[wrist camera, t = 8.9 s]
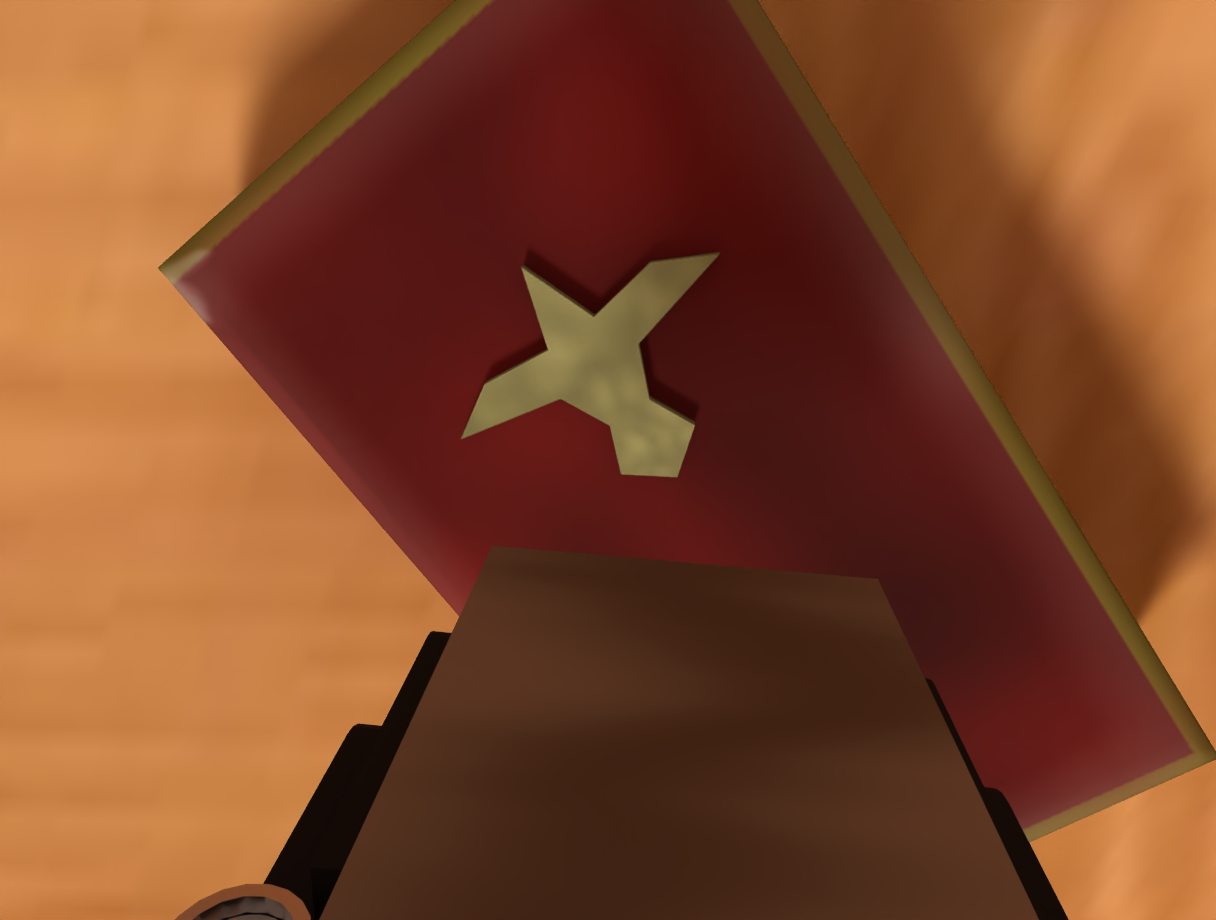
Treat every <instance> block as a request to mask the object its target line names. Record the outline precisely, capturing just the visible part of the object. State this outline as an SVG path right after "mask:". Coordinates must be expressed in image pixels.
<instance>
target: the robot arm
mask: <svg viewBox="0 0 1216 920" xmlns="http://www.w3.org/2000/svg"><path fill="white" fill-rule="evenodd" d="M451 634H452V633H446V632H435V631H432V632H430V634H429V635H428V637H427V638H426V640H425V642H424V644H423V646H422V648H421V650H420V652H419V654H418V656H417V658H416V660H415V662H414V664H413V666H412V668H411V670H410V672H409V674H408V676H407V678H406V680H405V682H404V684H403V686H402V688H401V690H400V692H399V693H398V695H397V697H396V699H395V701H394V703H393V705H392V707H391V709H390V711H389V713H388V715H387V717H386V719H385V721H384V723H383V725H382V726H377V725H367V724H357V725H355V726H353V727H352V729H351V730H350V731H349V733H348V734H347V736H346V737H345V739H344V741H343V743H342V745H341V746H340V748H339V750H338V752H337V754H336V755H335V757H334V759H333V761H332V762H331V764H330V766H329V768H328V770H327V771H326V773H325V775H324V777H323V778H322V780H321V782H320V784H319V786H318V787H317V789H316V791H315V793H314V794H313V796H312V798H311V800H310V802H309V803H308V805H307V807H306V809H305V811H304V812H303V814H302V816H301V818H300V819H299V821H298V823H297V825H296V827H295V828H294V830H293V832H292V834H291V835H290V837H289V839H288V841H287V843H286V844H285V846H284V848H283V850H282V851H281V853H280V855H279V857H278V859H277V860H276V862H275V864H274V866H273V867H272V869H271V871H270V873H269V875H268V876H267V878H266V880H265V882H264V884H245V885H240V886H236V887H232V888H227V889H223V890H221V891H219V892H217V893H214V894H212V895H210V896H208V897H206V898H204V899H201V900H199V901H198V902H197V903H195V904H194V905H192V906H191V907H190V908H188V909H187V910H186V911H184V912H183V913H182V914H180V915H179V916H178V917H177V918H176V919H175V920H319V919H320V917H321V915H322V913H323V911H324V908H325V906H326V904H327V902H328V900H329V898H330V895H331V893H332V891H333V889H334V887H335V885H336V882H337V880H338V878H339V876H340V874H341V872H342V869H343V867H344V865H345V863H346V861H347V859H348V856H349V854H350V852H351V850H352V848H353V846H354V844H355V841H356V839H357V837H358V835H359V833H360V831H361V828H362V826H363V824H364V822H365V820H366V818H367V815H368V813H369V811H370V809H371V807H372V805H373V802H374V800H375V798H376V796H377V794H378V792H379V789H380V787H381V785H382V783H383V781H384V779H385V776H386V774H387V772H388V770H389V768H390V766H391V763H392V761H393V759H394V757H395V755H396V753H397V750H398V748H399V746H400V744H401V742H402V740H403V738H404V735H405V733H406V731H407V729H408V727H409V725H410V722H411V720H412V718H413V716H414V714H415V712H416V709H417V707H418V705H419V703H420V701H421V699H422V696H423V694H424V692H425V690H426V688H427V686H428V683H429V681H430V679H431V677H432V675H433V673H434V670H435V668H436V666H437V664H438V662H439V660H440V657H441V655H442V653H443V651H444V649H445V647H446V645H447V642H448V640H449V638H450V636H451ZM925 680H926V682H927V684H928V686H929V688H930V690H931V693H932V695H933V697H934V699H935V701H936V703H937V705H938V707H939V709H940V712H941V714H942V716H943V718H944V720H945V722H946V724H947V726H948V729H949V731H950V733H951V735H952V737H953V739H954V741H955V743H956V745H957V748H958V750H959V752H960V754H961V756H962V758H963V760H964V762H965V764H966V767H967V769H968V771H969V773H970V775H971V777H972V779H973V781H974V784H975V786H976V788H977V790H978V792H979V794H980V796H981V798H982V800H983V803H984V805H985V807H986V809H987V811H988V813H989V815H990V817H991V819H992V822H993V824H994V826H995V828H996V830H997V832H998V834H999V836H1000V839H1001V841H1002V843H1003V845H1004V847H1005V849H1006V851H1007V853H1008V855H1009V858H1010V860H1011V862H1012V864H1013V866H1014V868H1015V870H1016V872H1017V874H1018V877H1019V879H1020V881H1021V883H1022V885H1023V887H1024V889H1025V891H1026V894H1027V896H1028V898H1029V900H1030V902H1031V904H1032V906H1033V908H1034V910H1035V913H1036V915H1037V917H1038V919H1039V920H1068V918H1067V916H1066V914H1065V912H1064V910H1063V908H1062V906H1061V904H1060V902H1059V900H1058V898H1057V896H1056V894H1055V892H1054V890H1053V888H1052V886H1051V884H1050V882H1049V880H1048V878H1047V876H1046V875H1045V873H1044V871H1043V869H1042V867H1041V865H1040V863H1039V861H1038V859H1037V857H1036V855H1035V853H1034V851H1033V849H1032V847H1031V845H1030V843H1029V841H1028V839H1027V837H1026V835H1025V833H1024V831H1023V829H1022V828H1021V826H1020V824H1019V822H1018V820H1017V818H1016V816H1015V814H1014V812H1013V810H1012V808H1011V806H1010V804H1009V802H1008V801H1007V799H1006V798H1005V796H1004V795H1003V793H1002V792H1000V791H999V790H997V789H996V788H989V787H984V785H983V783H982V781H981V779H980V777H979V775H978V773H977V771H976V769H975V767H974V765H973V763H972V761H971V759H970V757H969V754H968V752H967V750H966V748H965V746H964V744H963V742H962V740H961V738H960V736H959V734H958V732H957V730H956V728H955V726H954V724H953V721H952V719H951V717H950V715H949V713H948V711H947V709H946V707H945V705H944V703H943V701H942V699H941V697H940V695H939V693H938V690H937V688H936V686H935V684H934V683H933V681H932V680H931V679H928V678H925Z"/></svg>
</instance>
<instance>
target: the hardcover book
mask: <svg viewBox="0 0 1216 920" xmlns="http://www.w3.org/2000/svg"><path fill="white" fill-rule="evenodd" d="M158 268H159V270H160V271H161V272H162V273H163V274H164V275H165V277H166V278H167V279H168V280H169V281H170V282H171V284H172V285H173V286H174V287H175V288H176V289H177V290H178V292H179V293H180V294H181V295H182V296H183V297H184V299H185V300H186V301H187V302H188V303H189V304H190V306H191V307H192V308H193V309H194V310H195V311H196V312H197V314H198V315H199V316H200V317H201V318H202V319H203V321H204V322H205V323H206V324H207V325H208V326H209V327H210V329H211V330H212V331H213V332H214V333H215V334H216V336H217V337H218V338H219V339H220V340H221V341H222V343H223V344H224V345H225V346H226V347H227V348H228V349H229V351H230V352H231V353H232V354H233V355H234V356H235V358H236V359H237V360H238V361H239V362H240V363H241V364H242V366H243V367H244V368H245V369H246V370H247V371H248V373H249V374H250V375H251V376H252V377H253V378H254V380H255V381H256V382H257V383H258V384H259V385H260V386H261V388H262V389H263V390H264V391H265V392H266V393H267V395H268V396H269V397H270V398H271V399H272V400H273V401H274V403H275V404H276V405H277V406H278V407H279V408H280V410H281V411H282V412H283V413H284V414H285V415H286V417H287V418H288V419H289V420H290V421H291V422H292V423H293V425H294V426H295V427H296V428H297V429H298V430H299V432H300V433H301V434H302V435H303V436H304V437H305V438H306V440H307V441H308V442H309V443H310V444H311V445H312V447H313V448H314V449H315V450H316V451H317V452H318V454H319V455H320V456H321V457H322V458H323V459H324V460H325V462H326V463H327V464H328V465H329V466H330V467H331V469H332V470H333V471H334V472H335V473H336V474H337V475H338V477H339V478H340V479H341V480H342V481H343V482H344V484H345V485H346V486H347V487H348V488H349V489H350V491H351V492H352V493H353V494H354V495H355V496H356V497H357V499H358V500H359V501H360V502H361V503H362V504H363V506H364V507H365V508H366V509H367V510H368V511H369V513H370V514H371V515H372V516H373V517H374V518H375V519H376V521H377V522H378V523H379V524H380V525H381V526H382V528H383V529H384V530H385V531H386V532H387V533H388V534H389V536H390V537H391V538H392V539H393V540H394V541H395V543H396V544H397V545H398V546H399V547H400V548H401V550H402V551H403V552H404V553H405V554H406V555H407V556H408V558H409V559H410V560H411V561H412V562H413V563H414V565H415V566H416V567H417V568H418V569H419V570H420V571H421V573H422V574H423V575H424V576H425V577H426V578H427V580H428V581H429V582H430V583H431V584H432V585H433V587H434V588H435V589H436V590H437V591H438V592H439V593H440V595H441V596H442V597H443V598H444V599H445V600H446V602H447V603H448V604H449V605H450V606H451V607H452V608H453V610H454V611H455V612H456V613H457V614H458V615H459V616H460V614H461V612H462V610H463V608H464V606H465V603H466V601H467V599H468V597H469V595H470V593H471V590H472V588H473V586H474V584H475V582H476V580H477V577H478V575H479V573H480V571H481V569H482V567H483V564H484V562H485V560H486V558H487V556H488V554H489V551H490V549H491V547H492V545H493V546H504V547H516V548H527V549H539V550H550V551H562V552H573V553H585V554H596V555H607V556H619V557H630V558H642V559H653V560H665V561H676V562H688V563H699V564H711V565H722V566H734V567H745V568H757V569H768V570H780V571H791V572H803V573H814V574H826V575H837V576H849V577H860V578H872V579H878V580H879V583H880V585H881V587H882V589H883V591H884V593H885V595H886V597H887V599H888V602H889V604H890V606H891V608H892V610H893V612H894V614H895V616H896V618H897V621H898V623H899V625H900V627H901V629H902V631H903V633H904V635H905V638H906V640H907V642H908V644H909V646H910V648H911V650H912V652H913V654H914V657H915V659H916V661H917V663H918V665H919V667H920V669H921V671H922V673H923V676H924V678H928V679H931V680H932V681H933V683H934V684H935V686H936V688H937V690H938V693H939V695H940V697H941V699H942V701H943V703H944V705H945V707H946V709H947V711H948V713H949V715H950V717H951V719H952V721H953V724H954V726H955V728H956V730H957V732H958V734H959V736H960V738H961V740H962V742H963V744H964V746H965V748H966V750H967V752H968V754H969V757H970V759H971V761H972V763H973V765H974V767H975V769H976V771H977V773H978V775H979V777H980V779H981V781H982V783H983V785H984V787H989V788H996V789H997V790H999V791H1000V792H1002V793H1003V795H1004V796H1005V798H1006V799H1007V801H1008V802H1009V804H1010V806H1011V808H1012V810H1013V812H1014V814H1015V816H1016V818H1017V820H1018V822H1019V824H1020V826H1021V828H1022V829H1023V831H1024V833H1025V835H1026V837H1027V839H1028V841H1029V842H1031V841H1033V840H1036V839H1038V838H1040V837H1042V836H1045V835H1047V834H1049V833H1051V832H1054V831H1056V830H1058V829H1060V828H1063V827H1065V826H1067V825H1069V824H1072V823H1074V822H1076V821H1078V820H1081V819H1083V818H1085V817H1087V816H1090V815H1092V814H1094V813H1096V812H1099V811H1101V810H1103V809H1105V808H1108V807H1110V806H1112V805H1114V804H1117V803H1119V802H1121V801H1123V800H1126V799H1128V798H1130V797H1132V796H1135V795H1137V794H1139V793H1141V792H1144V791H1146V790H1148V789H1150V788H1153V787H1155V786H1157V785H1159V784H1162V783H1164V782H1166V781H1168V780H1171V779H1173V778H1175V777H1177V776H1180V775H1182V774H1184V773H1186V772H1189V771H1191V770H1193V769H1195V768H1198V767H1200V766H1202V765H1204V764H1207V763H1209V762H1211V761H1213V760H1216V751H1215V749H1214V748H1213V746H1212V744H1211V743H1210V741H1209V740H1208V738H1207V736H1206V735H1205V733H1204V731H1203V730H1202V728H1201V726H1200V725H1199V723H1198V722H1197V720H1196V718H1195V717H1194V715H1193V713H1192V712H1191V710H1190V708H1189V707H1188V705H1187V703H1186V702H1185V700H1184V699H1183V697H1182V695H1181V694H1180V692H1179V690H1178V689H1177V687H1176V685H1175V684H1174V682H1173V681H1172V679H1171V677H1170V676H1169V674H1168V672H1167V671H1166V669H1165V667H1164V666H1163V664H1162V662H1161V661H1160V659H1159V658H1158V656H1157V654H1156V653H1155V651H1154V649H1153V648H1152V646H1151V644H1150V643H1149V641H1148V640H1147V638H1146V636H1145V635H1144V633H1143V631H1142V630H1141V628H1140V626H1139V625H1138V623H1137V621H1136V620H1135V618H1134V617H1133V615H1132V613H1131V612H1130V610H1129V608H1128V607H1127V605H1126V603H1125V602H1124V600H1123V599H1122V597H1121V595H1120V594H1119V592H1118V590H1117V589H1116V587H1115V585H1114V584H1113V582H1112V580H1111V579H1110V577H1109V576H1108V574H1107V572H1106V571H1105V569H1104V567H1103V566H1102V564H1101V562H1100V561H1099V559H1098V558H1097V556H1096V554H1095V553H1094V551H1093V549H1092V548H1091V546H1090V544H1089V543H1088V541H1087V539H1086V538H1085V536H1084V535H1083V533H1082V531H1081V530H1080V528H1079V526H1078V525H1077V523H1076V521H1075V520H1074V518H1073V517H1072V515H1071V513H1070V512H1069V510H1068V508H1067V507H1066V505H1065V503H1064V502H1063V500H1062V498H1061V497H1060V495H1059V494H1058V492H1057V490H1056V489H1055V487H1054V485H1053V484H1052V482H1051V480H1050V479H1049V477H1048V476H1047V474H1046V472H1045V471H1044V469H1043V467H1042V466H1041V464H1040V462H1039V461H1038V459H1037V457H1036V456H1035V454H1034V453H1033V451H1032V449H1031V448H1030V446H1029V444H1028V443H1027V441H1026V439H1025V438H1024V436H1023V435H1022V433H1021V431H1020V430H1019V428H1018V426H1017V425H1016V423H1015V421H1014V420H1013V418H1012V416H1011V415H1010V413H1009V412H1008V410H1007V408H1006V407H1005V405H1004V403H1003V402H1002V400H1001V398H1000V397H999V395H998V394H997V392H996V390H995V389H994V387H993V385H992V384H991V382H990V380H989V379H988V377H987V375H986V374H985V372H984V371H983V369H982V367H981V366H980V364H979V362H978V361H977V359H976V357H975V356H974V354H973V353H972V351H971V349H970V348H969V346H968V344H967V343H966V341H965V339H964V338H963V336H962V334H961V333H960V331H959V330H958V328H957V326H956V325H955V323H954V321H953V320H952V318H951V316H950V315H949V313H948V312H947V310H946V308H945V307H944V305H943V303H942V302H941V300H940V298H939V297H938V295H937V293H936V292H935V290H934V289H933V287H932V285H931V284H930V282H929V280H928V279H927V277H926V275H925V274H924V272H923V271H922V269H921V267H920V266H919V264H918V262H917V261H916V259H915V257H914V256H913V254H912V252H911V251H910V249H909V248H908V246H907V244H906V243H905V241H904V239H903V238H902V236H901V234H900V233H899V231H898V230H897V228H896V226H895V225H894V223H893V221H892V220H891V218H890V216H889V215H888V213H887V211H886V210H885V208H884V207H883V205H882V203H881V202H880V200H879V198H878V197H877V195H876V193H875V192H874V190H873V189H872V187H871V185H870V184H869V182H868V180H867V179H866V177H865V175H864V174H863V172H862V170H861V169H860V167H859V166H858V164H857V162H856V161H855V159H854V157H853V156H852V154H851V152H850V151H849V149H848V148H847V146H846V144H845V143H844V141H843V139H842V138H841V136H840V134H839V133H838V131H837V129H836V128H835V126H834V125H833V123H832V121H831V120H830V118H829V116H828V115H827V113H826V111H825V110H824V108H823V107H822V105H821V103H820V102H819V100H818V98H817V97H816V95H815V93H814V92H813V90H812V88H811V87H810V85H809V84H808V82H807V80H806V79H805V77H804V75H803V74H802V72H801V70H800V69H799V67H798V66H797V64H796V62H795V61H794V59H793V57H792V56H791V54H790V52H789V51H788V49H787V47H786V46H785V44H784V43H783V41H782V39H781V38H780V36H779V34H778V33H777V31H776V29H775V28H774V26H773V24H772V23H771V21H770V20H769V18H768V16H767V15H766V13H765V11H764V10H763V8H762V6H761V5H760V3H759V2H758V0H455V1H454V2H453V3H451V4H450V5H449V6H448V7H447V8H446V9H445V10H444V11H443V12H441V13H440V14H439V15H438V16H437V17H436V18H435V19H434V20H433V21H431V22H430V23H429V24H428V25H427V26H426V27H425V28H424V29H423V30H421V31H420V32H419V33H418V34H417V35H416V36H415V37H414V38H413V39H411V40H410V41H409V42H408V43H407V44H406V45H405V46H404V47H403V48H401V49H400V50H399V51H398V52H397V53H396V54H395V55H394V56H393V57H391V58H390V59H389V60H388V61H387V62H386V63H385V64H384V65H383V66H381V67H380V68H379V69H378V70H377V71H376V72H375V73H374V74H373V75H371V76H370V77H369V78H368V79H367V80H366V81H365V82H364V83H363V84H361V85H360V86H359V87H358V88H357V89H356V90H355V91H354V92H353V93H351V94H350V95H349V96H348V97H347V98H346V99H345V100H344V101H343V102H342V103H340V104H339V105H338V106H337V107H336V108H335V109H334V110H333V111H332V112H330V113H329V114H328V115H327V116H326V117H325V118H324V119H323V120H322V121H320V122H319V123H318V124H317V125H316V126H315V127H314V128H313V129H312V130H310V131H309V132H308V133H307V134H306V135H305V136H304V137H303V138H302V139H300V140H299V141H298V142H297V143H296V144H295V145H294V146H293V147H292V148H290V149H289V150H288V151H287V152H286V153H285V154H284V155H283V156H282V157H280V158H279V159H278V160H277V161H276V162H275V163H274V164H273V165H272V166H270V167H269V168H268V169H267V170H266V171H265V172H264V173H263V174H262V175H260V176H259V177H258V178H257V179H256V180H255V181H254V182H253V183H252V184H250V185H249V186H248V187H247V188H246V189H245V190H244V191H243V192H242V193H240V194H239V195H238V196H237V197H236V198H235V199H234V200H233V201H232V202H230V203H229V204H228V205H227V206H226V207H225V208H224V209H223V210H222V211H220V212H219V213H218V214H217V215H216V216H215V217H214V218H213V219H212V220H210V221H209V222H208V223H207V224H206V225H205V226H204V227H203V228H202V229H200V230H199V231H198V232H197V233H196V234H195V235H194V236H193V237H192V238H190V239H189V240H188V241H187V242H186V243H185V244H184V245H183V246H182V247H180V248H179V249H178V250H177V251H176V252H175V253H174V254H173V255H172V256H170V257H169V258H168V259H167V260H166V261H165V262H164V263H163V264H162V265H160V266H159V267H158Z"/></svg>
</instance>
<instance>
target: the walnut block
mask: <svg viewBox="0 0 1216 920" xmlns="http://www.w3.org/2000/svg"><path fill="white" fill-rule="evenodd" d="M319 920H1039V919H1038V917H1037V915H1036V913H1035V910H1034V908H1033V906H1032V904H1031V902H1030V900H1029V898H1028V896H1027V894H1026V891H1025V889H1024V887H1023V885H1022V883H1021V881H1020V879H1019V877H1018V874H1017V872H1016V870H1015V868H1014V866H1013V864H1012V862H1011V860H1010V858H1009V855H1008V853H1007V851H1006V849H1005V847H1004V845H1003V843H1002V841H1001V839H1000V836H999V834H998V832H997V830H996V828H995V826H994V824H993V822H992V819H991V817H990V815H989V813H988V811H987V809H986V807H985V805H984V803H983V800H982V798H981V796H980V794H979V792H978V790H977V788H976V786H975V784H974V781H973V779H972V777H971V775H970V773H969V771H968V769H967V767H966V764H965V762H964V760H963V758H962V756H961V754H960V752H959V750H958V748H957V745H956V743H955V741H954V739H953V737H952V735H951V733H950V731H949V729H948V726H947V724H946V722H945V720H944V718H943V716H942V714H941V712H940V709H939V707H938V705H937V703H936V701H935V699H934V697H933V695H932V693H931V690H930V688H929V686H928V684H927V682H926V680H925V678H924V676H923V673H922V671H921V669H920V667H919V665H918V663H917V661H916V659H915V657H914V654H913V652H912V650H911V648H910V646H909V644H908V642H907V640H906V638H905V635H904V633H903V631H902V629H901V627H900V625H899V623H898V621H897V618H896V616H895V614H894V612H893V610H892V608H891V606H890V604H889V602H888V599H887V597H886V595H885V593H884V591H883V589H882V587H881V585H880V583H879V580H878V579H872V578H860V577H849V576H837V575H826V574H814V573H803V572H791V571H780V570H768V569H757V568H745V567H734V566H722V565H711V564H699V563H688V562H676V561H665V560H653V559H642V558H630V557H619V556H607V555H596V554H585V553H573V552H562V551H550V550H539V549H527V548H516V547H504V546H493V545H492V547H491V549H490V551H489V554H488V556H487V558H486V560H485V562H484V564H483V567H482V569H481V571H480V573H479V575H478V577H477V580H476V582H475V584H474V586H473V588H472V590H471V593H470V595H469V597H468V599H467V601H466V603H465V606H464V608H463V610H462V612H461V614H460V616H459V619H458V621H457V623H456V625H455V627H454V629H453V632H452V634H451V636H450V638H449V640H448V642H447V645H446V647H445V649H444V651H443V653H442V655H441V657H440V660H439V662H438V664H437V666H436V668H435V670H434V673H433V675H432V677H431V679H430V681H429V683H428V686H427V688H426V690H425V692H424V694H423V696H422V699H421V701H420V703H419V705H418V707H417V709H416V712H415V714H414V716H413V718H412V720H411V722H410V725H409V727H408V729H407V731H406V733H405V735H404V738H403V740H402V742H401V744H400V746H399V748H398V750H397V753H396V755H395V757H394V759H393V761H392V763H391V766H390V768H389V770H388V772H387V774H386V776H385V779H384V781H383V783H382V785H381V787H380V789H379V792H378V794H377V796H376V798H375V800H374V802H373V805H372V807H371V809H370V811H369V813H368V815H367V818H366V820H365V822H364V824H363V826H362V828H361V831H360V833H359V835H358V837H357V839H356V841H355V844H354V846H353V848H352V850H351V852H350V854H349V856H348V859H347V861H346V863H345V865H344V867H343V869H342V872H341V874H340V876H339V878H338V880H337V882H336V885H335V887H334V889H333V891H332V893H331V895H330V898H329V900H328V902H327V904H326V906H325V908H324V911H323V913H322V915H321V917H320V919H319Z"/></svg>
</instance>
